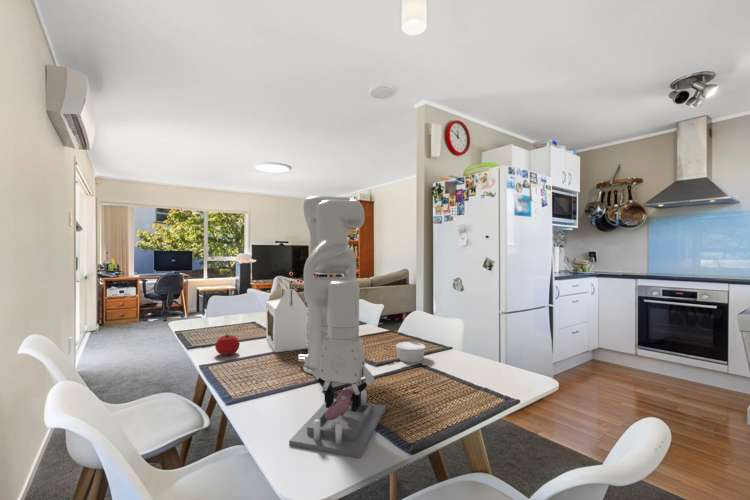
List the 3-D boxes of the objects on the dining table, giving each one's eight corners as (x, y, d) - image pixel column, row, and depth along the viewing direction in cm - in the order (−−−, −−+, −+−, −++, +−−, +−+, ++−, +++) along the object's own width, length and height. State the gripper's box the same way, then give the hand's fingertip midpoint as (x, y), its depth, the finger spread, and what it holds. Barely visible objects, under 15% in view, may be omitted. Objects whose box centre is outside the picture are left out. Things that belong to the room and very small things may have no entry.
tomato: (210, 356, 134) (210, 336, 134) (224, 350, 142) (224, 330, 142) (230, 358, 132) (230, 337, 132) (244, 351, 140) (244, 332, 140)
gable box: (266, 339, 160) (266, 278, 159) (295, 336, 165) (295, 277, 165) (274, 352, 140) (275, 283, 139) (307, 348, 145) (307, 281, 145)
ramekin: (430, 357, 135) (430, 344, 135) (417, 366, 126) (417, 351, 126) (404, 352, 141) (404, 340, 141) (390, 360, 132) (390, 346, 132)
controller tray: (289, 445, 75) (289, 421, 75) (329, 401, 96) (329, 383, 96) (359, 457, 70) (360, 433, 70) (386, 409, 92) (386, 390, 92)
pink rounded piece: (339, 429, 78) (352, 403, 77) (322, 418, 79) (335, 392, 78) (351, 409, 88) (363, 386, 87) (336, 399, 89) (348, 376, 88)
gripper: (303, 333, 82) (302, 409, 82) (373, 338, 77) (372, 420, 77) (316, 326, 89) (316, 396, 89) (382, 331, 84) (381, 405, 84)
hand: (342, 406), depth 83 cm, fingers closed on pink rounded piece, 6 cm apart
